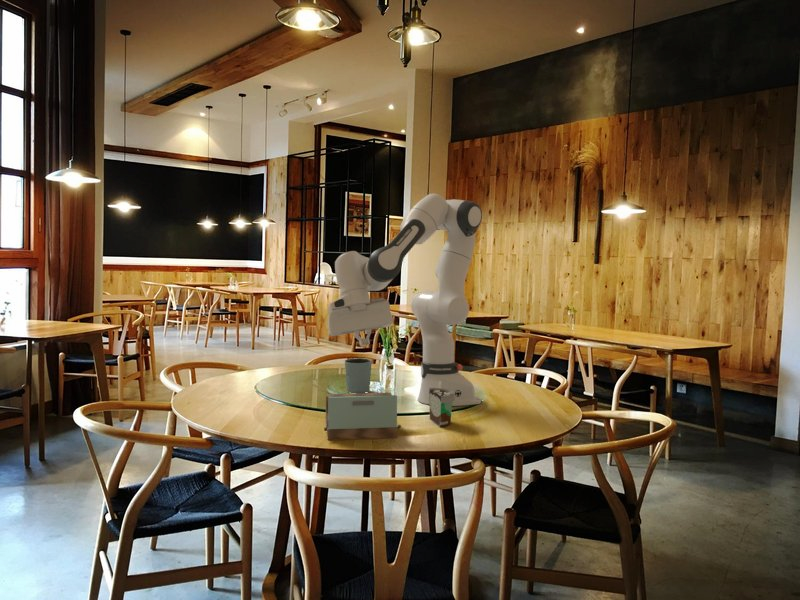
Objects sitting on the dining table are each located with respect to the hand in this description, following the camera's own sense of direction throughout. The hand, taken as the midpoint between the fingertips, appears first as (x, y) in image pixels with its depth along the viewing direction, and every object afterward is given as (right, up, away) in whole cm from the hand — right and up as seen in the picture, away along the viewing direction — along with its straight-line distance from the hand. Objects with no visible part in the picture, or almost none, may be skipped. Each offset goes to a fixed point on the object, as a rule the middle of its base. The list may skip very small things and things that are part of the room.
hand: (365, 344), depth 201 cm
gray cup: (-5, -21, +46) cm, 51 cm away
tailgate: (0, -23, -13) cm, 27 cm away
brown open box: (-1, -26, -6) cm, 26 cm away
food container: (+25, -25, +5) cm, 35 cm away
